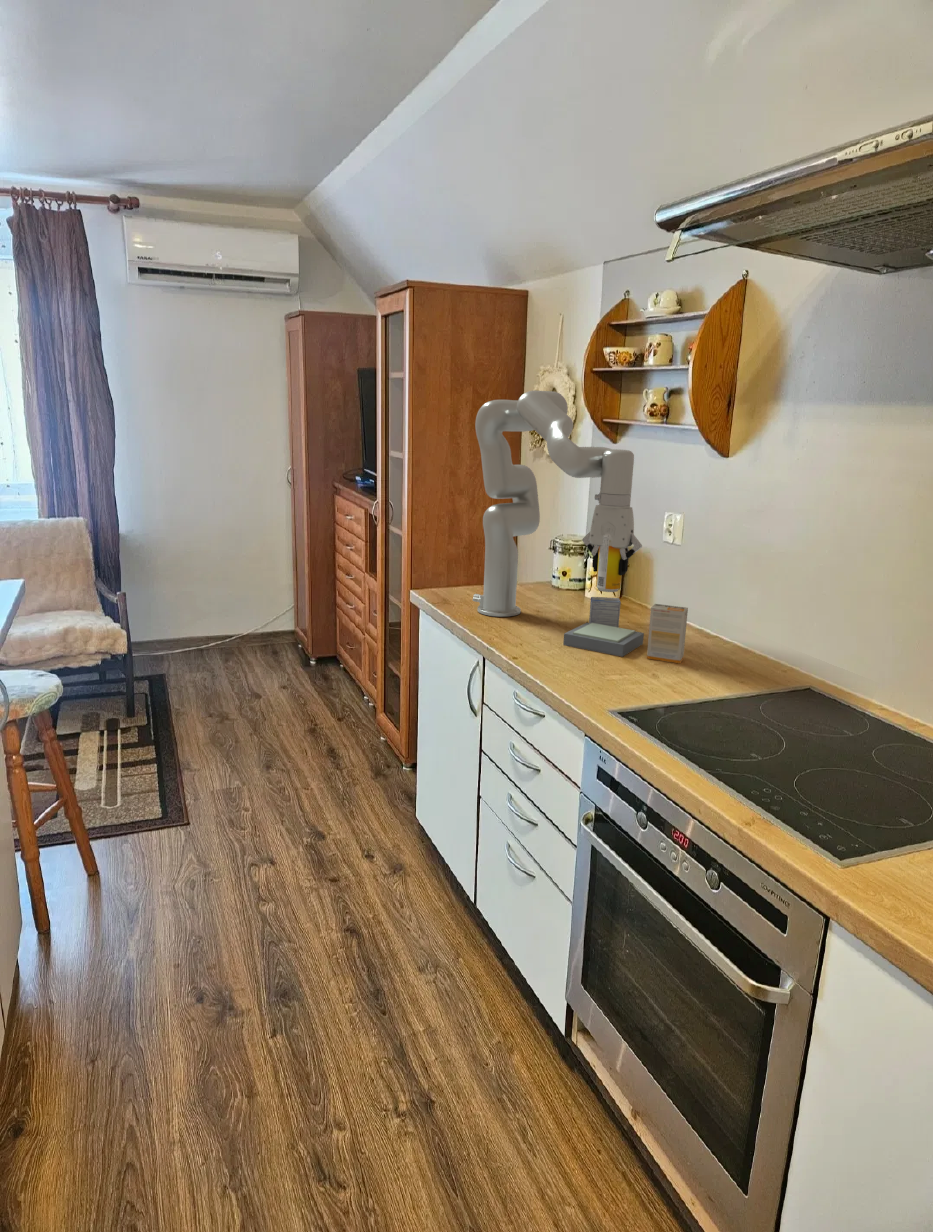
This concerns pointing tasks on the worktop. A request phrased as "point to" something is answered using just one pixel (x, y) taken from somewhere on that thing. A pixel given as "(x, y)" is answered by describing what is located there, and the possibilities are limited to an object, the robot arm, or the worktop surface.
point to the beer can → (608, 566)
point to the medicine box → (605, 611)
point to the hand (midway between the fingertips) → (609, 572)
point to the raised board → (603, 639)
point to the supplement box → (667, 633)
